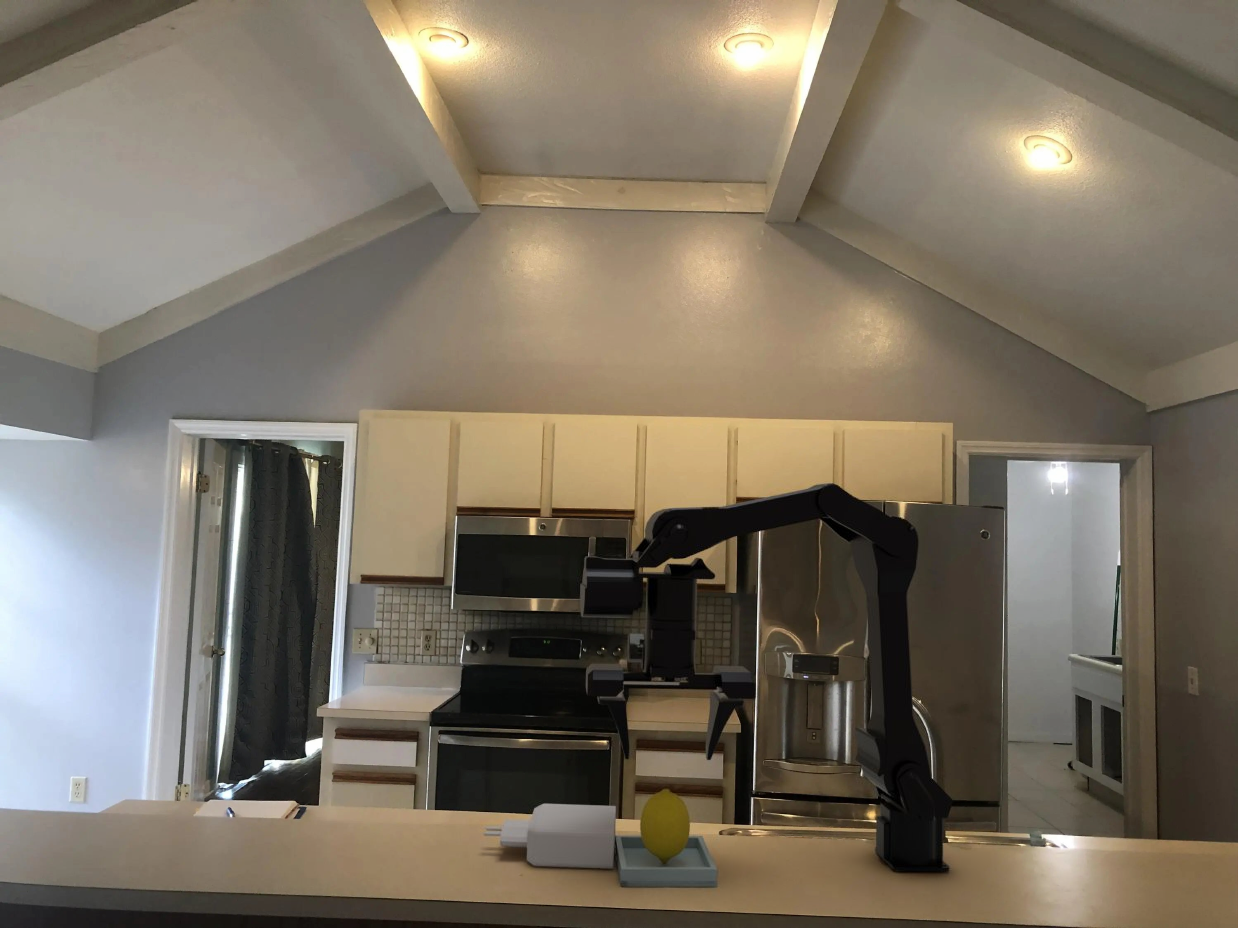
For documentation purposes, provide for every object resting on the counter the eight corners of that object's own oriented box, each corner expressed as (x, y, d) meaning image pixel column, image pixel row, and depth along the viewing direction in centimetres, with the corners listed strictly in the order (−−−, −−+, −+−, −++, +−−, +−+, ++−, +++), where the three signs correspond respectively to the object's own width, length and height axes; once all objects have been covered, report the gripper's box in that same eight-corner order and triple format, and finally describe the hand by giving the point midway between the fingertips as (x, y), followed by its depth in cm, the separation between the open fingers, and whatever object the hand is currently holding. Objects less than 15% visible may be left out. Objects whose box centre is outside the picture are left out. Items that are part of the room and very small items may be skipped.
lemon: (689, 854, 102) (691, 783, 102) (688, 873, 96) (690, 797, 97) (641, 851, 102) (642, 780, 103) (637, 870, 97) (639, 794, 97)
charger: (491, 838, 108) (615, 842, 107) (477, 868, 99) (613, 872, 98) (492, 798, 108) (616, 802, 108) (479, 823, 99) (614, 828, 98)
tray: (701, 851, 105) (702, 835, 105) (717, 886, 95) (717, 869, 95) (614, 851, 104) (615, 835, 104) (620, 886, 94) (621, 869, 94)
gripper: (737, 613, 110) (735, 742, 109) (586, 609, 109) (582, 740, 108) (758, 623, 99) (755, 767, 98) (589, 619, 98) (585, 765, 97)
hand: (667, 758), depth 100 cm, fingers open, 9 cm apart
